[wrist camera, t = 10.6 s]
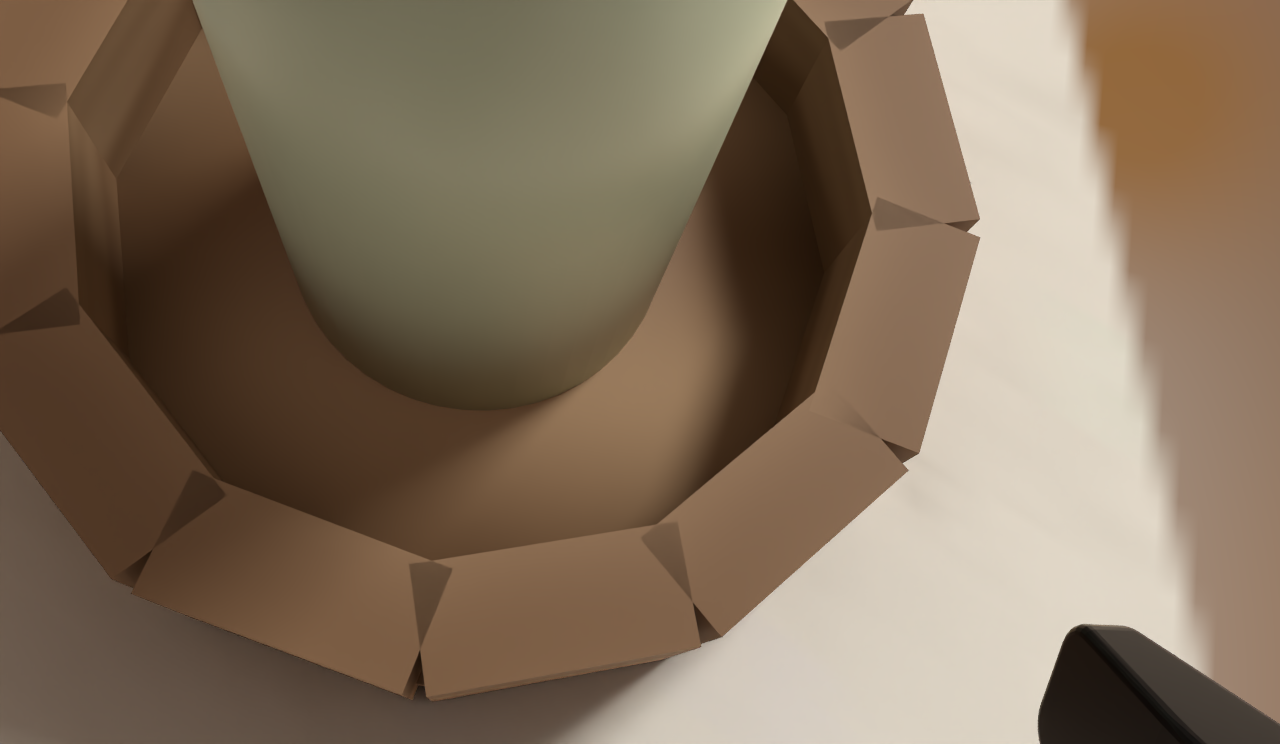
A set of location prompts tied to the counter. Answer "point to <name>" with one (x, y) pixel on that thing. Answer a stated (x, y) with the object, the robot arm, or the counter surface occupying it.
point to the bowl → (451, 438)
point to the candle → (483, 171)
